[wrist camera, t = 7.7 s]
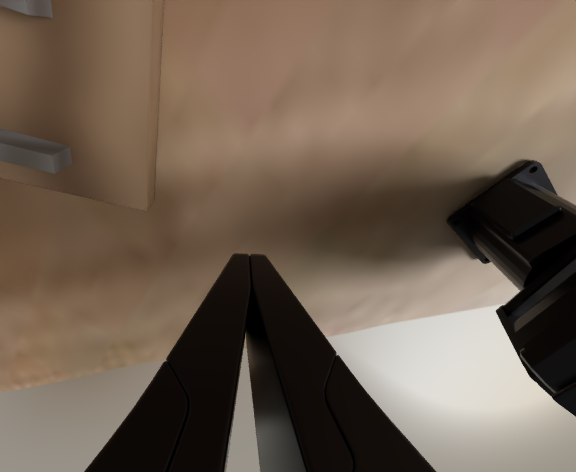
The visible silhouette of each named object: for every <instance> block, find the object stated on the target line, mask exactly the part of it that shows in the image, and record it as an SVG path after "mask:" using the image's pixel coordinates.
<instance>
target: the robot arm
mask: <svg viewBox="0 0 576 472" xmlns="http://www.w3.org/2000/svg"><path fill="white" fill-rule="evenodd" d="M531 168H532V169H531ZM530 169H531V170H530ZM455 220H457V221H455ZM454 221H455V222H454ZM447 223H448V224H449V226H450V227H451V228H452V229H453V230H454V231H455V232H456V234H457V235H458V236H459V237H460V238H461V239H462V240H463V242H464V243H465V244H466V245H467V246H468V247H469V248H470V250H471V251H472V252H473V253H474V254H475V255H476V256H477V258H478V259H479V260H480V261H481V262H482V263H484V264H486V263H489V262H492V263H493V264H494V265H495V266H496V267H497V268H498V269H499V270H500V271H501V272H502V273H503V274H504V275H505V276H506V277H507V278H508V279H509V280H510V281H511V282H512V283H513V284H514V285H515V286H516V287H517V288H518V289H519V290H520V292H519V293H518V294H517V295H515V296H514V297H513V298H512V299H511V300H510V301H509V302H508V303H506V304H505V305H502V306H501V307H499V308H498V309H497V310H496V313H497V315H498V317H499V319H500V321H501V323H502V325H503V327H504V329H505V331H506V333H507V334H508V336H509V339H510V341H511V343H512V345H513V346H514V348H515V350H516V352H517V354H518V356H519V358H520V360H521V362H522V364H523V366H524V367H525V369H526V371H527V373H528V374H529V376H530V377H531V378H532V379H533V380H534V381H535V382H537V383H538V385H539V386H540V387H541V388H543V389H544V390H545V391H546V392H547V393H548V394H549V395H550V396H552V398H553V399H554V400H555V401H556V402H557V403H558V404H559V405H561V406H562V407H564V408H565V409H566V410H568V411H569V412H570V413H572V414H573V415H574V416H576V205H574V204H572V203H571V202H569V201H567V200H565V199H563V198H561V197H559V196H558V195H557V193H556V191H555V189H554V187H553V186H552V184H551V182H550V180H549V178H548V176H547V174H546V172H545V170H544V168H543V166H542V165H541V164H540V163H539V162H537V161H534V160H532V161H528V162H527V163H525V164H524V165H522V166H521V167H519V168H518V169H517V170H515V171H514V172H512V173H511V174H509V175H508V176H507V177H505V178H504V179H502V180H501V181H500V182H498V183H497V184H495V185H494V186H492V187H491V188H490V189H488V190H487V191H485V192H484V193H482V194H481V195H480V196H478V197H477V198H475V199H474V200H473V201H471V202H470V203H468V204H467V205H465V206H464V207H463V208H461V209H460V210H458V211H457V212H455V213H454V214H453V215H451V216H450V217H449V218H448V220H447ZM245 333H246V344H247V353H248V363H249V372H250V381H251V390H252V399H253V408H254V418H255V427H256V436H257V445H258V454H259V464H260V472H436V471H435V470H434V469H433V467H431V465H430V464H429V463H428V462H427V461H426V460H425V458H424V457H423V456H422V455H421V454H420V453H419V452H418V451H417V449H416V448H415V447H414V446H413V445H412V444H411V443H410V441H408V439H407V438H406V437H405V436H404V435H403V434H402V433H401V431H400V430H399V429H398V428H397V427H396V426H395V425H394V423H392V421H391V420H390V419H389V418H388V417H387V416H386V414H385V413H384V412H383V411H382V410H381V408H380V407H379V406H378V405H377V404H376V403H375V401H374V400H373V399H372V398H371V397H370V395H369V394H368V393H367V392H366V391H365V389H364V388H363V387H362V386H361V384H360V383H359V382H358V380H357V379H356V378H355V376H354V375H353V374H352V373H351V371H350V370H349V369H348V367H347V366H346V365H345V363H344V362H343V360H342V359H341V358H340V356H339V355H337V356H336V351H335V350H334V349H333V347H332V346H331V344H330V343H329V342H328V340H327V339H326V337H325V336H324V335H323V333H322V332H321V331H320V329H319V328H318V326H317V325H316V324H315V322H314V321H313V320H312V318H311V317H310V316H309V314H308V313H307V311H306V310H305V309H304V307H303V306H302V305H301V303H300V302H299V301H298V299H297V298H296V296H295V295H294V294H293V292H292V291H291V290H290V288H289V287H288V286H287V284H286V283H285V281H284V280H283V279H282V277H281V276H280V275H279V273H278V272H277V271H276V269H275V268H274V266H273V265H272V264H271V262H270V261H269V260H268V258H267V257H266V256H265V255H261V254H251V255H250V256H249V255H248V254H238V253H235V254H233V255H232V257H231V258H230V260H229V261H228V263H227V265H226V266H225V268H224V269H223V271H222V272H221V274H220V275H219V277H218V279H217V280H216V282H215V283H214V285H213V286H212V288H211V290H210V291H209V293H208V294H207V296H206V297H205V299H204V300H203V302H202V304H201V305H200V307H199V308H198V310H197V311H196V313H195V314H194V316H193V318H192V319H191V321H190V322H189V324H188V325H187V327H186V329H185V330H184V332H183V333H182V335H181V336H180V338H179V339H178V341H177V343H176V344H175V346H174V347H173V349H172V350H171V352H170V354H169V355H168V357H167V359H166V360H167V361H165V362H164V363H163V364H162V366H161V367H160V369H159V370H158V372H157V373H156V375H155V377H154V378H153V380H152V381H151V383H150V384H149V386H148V387H147V389H146V390H145V392H144V393H143V395H142V396H141V397H140V399H139V400H138V402H137V403H136V405H135V406H134V408H133V409H132V411H131V412H130V413H129V414H128V416H127V417H126V418H125V420H124V421H123V422H122V424H121V425H120V426H119V428H118V429H117V430H116V432H115V433H114V434H113V436H112V437H111V438H110V440H109V441H108V442H107V443H106V445H105V446H104V447H103V449H102V450H101V451H100V452H99V454H98V455H97V456H96V457H95V459H94V460H93V461H92V463H91V464H90V465H89V466H88V468H87V469H86V470H85V472H226V467H227V460H228V453H229V446H230V439H231V432H232V425H233V418H234V411H235V404H236V396H237V390H238V383H239V376H240V368H241V362H242V355H243V348H244V341H245Z"/></svg>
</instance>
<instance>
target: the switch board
mask: <svg viewBox="0 0 576 472" xmlns="http://www.w3.org/2000/svg"><path fill="white" fill-rule="evenodd" d="M163 10H164V0H0V178H2V179H7V180H11V181H15V182H20V183H24V184H28V185H33V186H37V187H42V188H46V189H50V190H55V191H59V192H64V193H68V194H72V195H77V196H81V197H86V198H90V199H94V200H99V201H103V202H107V203H112V204H116V205H121V206H125V207H129V208H134V209H138V210H143V211H147V209H148V208H149V207H150V205H151V204H152V203H153V201H154V195H155V175H156V154H157V133H158V113H159V92H160V72H161V51H162V30H163Z"/></svg>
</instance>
